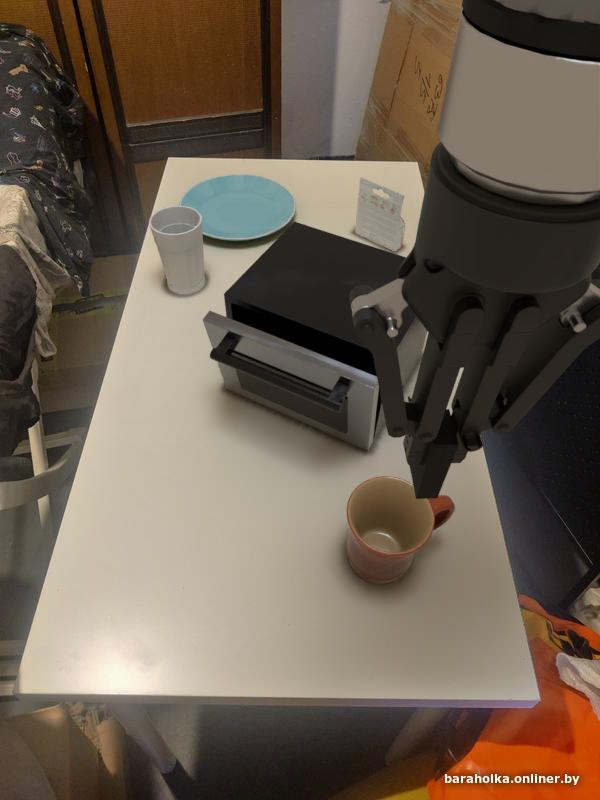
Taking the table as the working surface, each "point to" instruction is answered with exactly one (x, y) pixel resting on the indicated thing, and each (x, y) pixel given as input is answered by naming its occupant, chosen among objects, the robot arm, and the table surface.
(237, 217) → the plate
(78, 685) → the table surface
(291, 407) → the door
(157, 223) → the cup
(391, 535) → the mug
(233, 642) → the table surface
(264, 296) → the box
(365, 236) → the ink box
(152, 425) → the table surface
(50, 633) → the table surface
